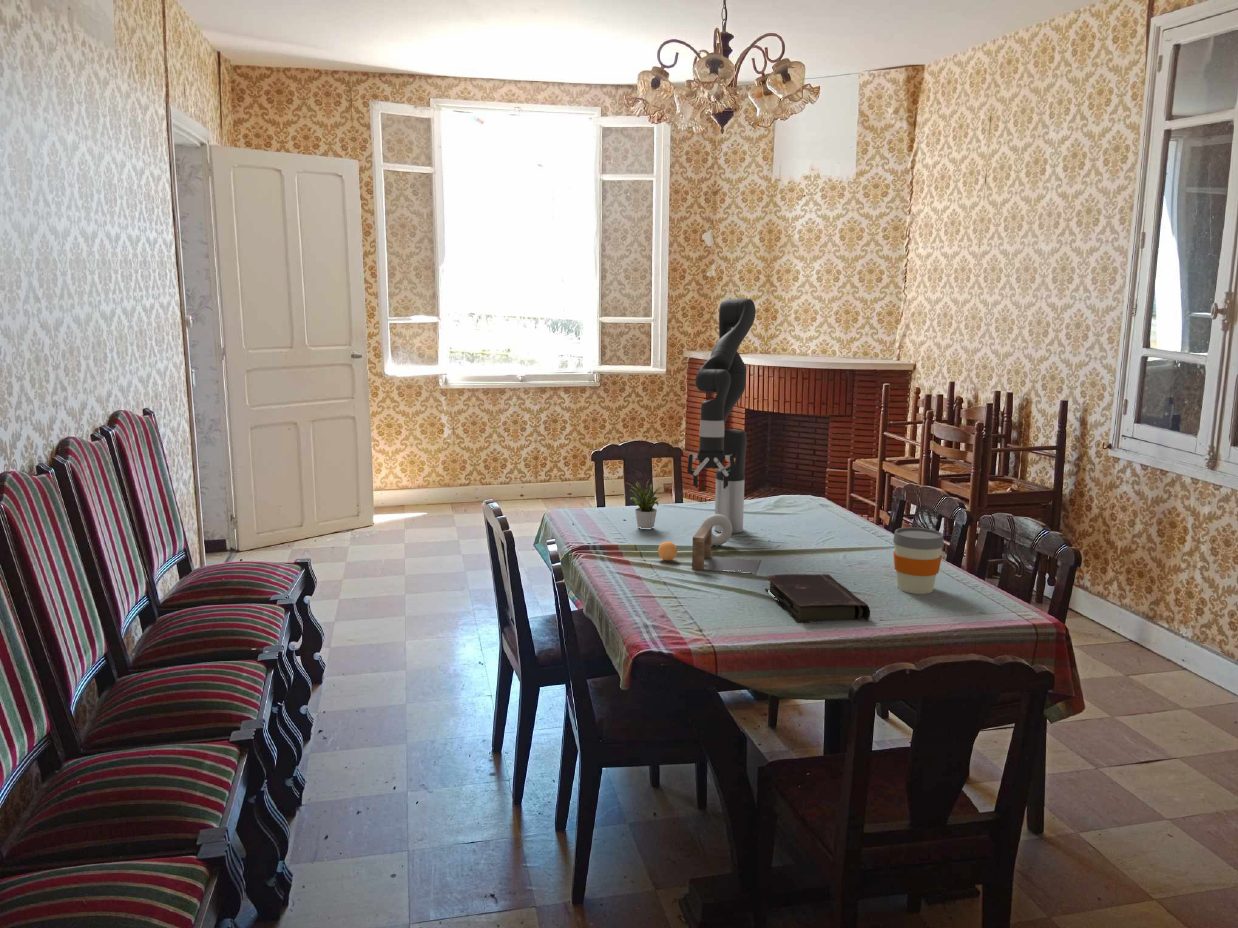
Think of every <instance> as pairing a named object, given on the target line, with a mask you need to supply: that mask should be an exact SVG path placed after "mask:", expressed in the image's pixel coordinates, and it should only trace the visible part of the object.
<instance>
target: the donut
mask: <svg viewBox="0 0 1238 928" xmlns="http://www.w3.org/2000/svg"><path fill="white" fill-rule="evenodd" d="M715 525H720V526H721V529H722V530H721V533H720V532H719V533H718V534H714V533H712V538H711V546H713V545H719V546H722V545H724V544H727V542H728V541H729V540H730V538H731V536H732V535H733V534H732V530H733V529H732V524H731V522H730V520H729V519H728V518H727V517H726V516H724V515H721V514H715V513H714V514H710V515H709V516H707V517H706V518H704V520H703V522H702V523H701V526H712V528H713V527H715ZM701 526H700V527H701Z"/></svg>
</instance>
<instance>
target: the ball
mask: <svg viewBox="0 0 1238 928" xmlns="http://www.w3.org/2000/svg"><path fill="white" fill-rule="evenodd" d="M657 552H658V553H657V554H658V556H659V557H660V559H661V560H663V561H672V560H674V559H675V558H676V556H677V554H678V548H677V546H676V544H675V543H674V542H672V541H663V542H662V543H661V544H660V545H659V546H658V548H657Z"/></svg>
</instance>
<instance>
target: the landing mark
mask: <svg viewBox="0 0 1238 928" xmlns="http://www.w3.org/2000/svg"><path fill="white" fill-rule="evenodd" d="M761 561H762V560H761V559H751V558H737V557H725V556H724V557H723V556H713V555H712V556H711V558H710V560H709V561H708V563H707V565H706V567H704V571H708V570H714V571H713V572H721V571H723V570H734V571H735V572H750V573H755V574H756V573H757V571H758V569H759V565H760V563H761ZM738 570H739V571H738ZM740 570H741V571H740ZM734 571H729V572H727V571H726V572H725V573H733V572H734Z"/></svg>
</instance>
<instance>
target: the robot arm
mask: <svg viewBox="0 0 1238 928" xmlns="http://www.w3.org/2000/svg"><path fill="white" fill-rule="evenodd" d="M718 309H719V310H718V340H717V341H716V343H715V344H714V346H713V348H712V351H711V354H710V356H709V358H708V359H707V360H706V362H705V363H704V364H703V365H702V366H701V367H700V368H699V370H698V371H697V373H696V375H695V380H694V381H695V383H694V384H695V387H696V389H697V390H698V391H699V392H702V393H715V394H716V395H715V397H714V398H712V399H708V400H704V401H702V402H701V403H700V423H699V433H698V434H699V437H698V441H699V442H698V453H697V454H694V453H692V452H691V453H689V454H688V458H687V470H686V471H687V473H688V474H690V475H692V485H693V487H694V488H695V489H698V487H699V484H698V483H699V475H698V474H699V473H700V472H701V471H702V469H703V468H705V469H715V470H716V472H715V496H714V497H715V501H714V502H715V504H714V506H715V507H714V514H721V515H724V516H726V517H727V518H728V519H729V520H730V522H731V524H732V529H733V530H732V533H733V534H739V533H742V532H743V531H744V510H745V509H744V507H745V506H744V505H745V475H746V474H745V472H746V470H745V469H746V453H747V446H748V445H747V438H748V437H747V436H748V435H747V433H746V431H745V430H742V429H732V428H731V429H730V428H729V429H728V428H725V424H726V421H727V419H728V416H729V414H730V413H731V411H732V410H733V408H734V407H735V405H736V404H737V403H738V401H739V400H740V398H741V397H742V396H743V394H744V392H745V390H746V379H747V368H746V365H745V362H744V361H743V358H742V357H741V355H740V353H739V352H738V349H739V347H740V345H741V343H742V342H743V341H744V340H745V338H746V336H747V335H748V333H749V332H750V329H751V328H752V326H753V324H754V322H755V319H756V314H757V313H756V312H757V311H756V304H755V303H754V300H752V299H750V298H726V299H724V298H723V300H721V302H720V305H719V308H718ZM696 459H697V460H698V462H700V463H699V464H698V465H697V467H696V468H695V469H692V468H693V462H695V461H696ZM725 460H727V462H728V463H729V465H727V466H724V465H723V462H724V461H725ZM715 530H716V531H715ZM721 530H722V529H721V526H720V525H715V526H714V531H715V532H717V531H718V532H717V533H720V532H721Z"/></svg>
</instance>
